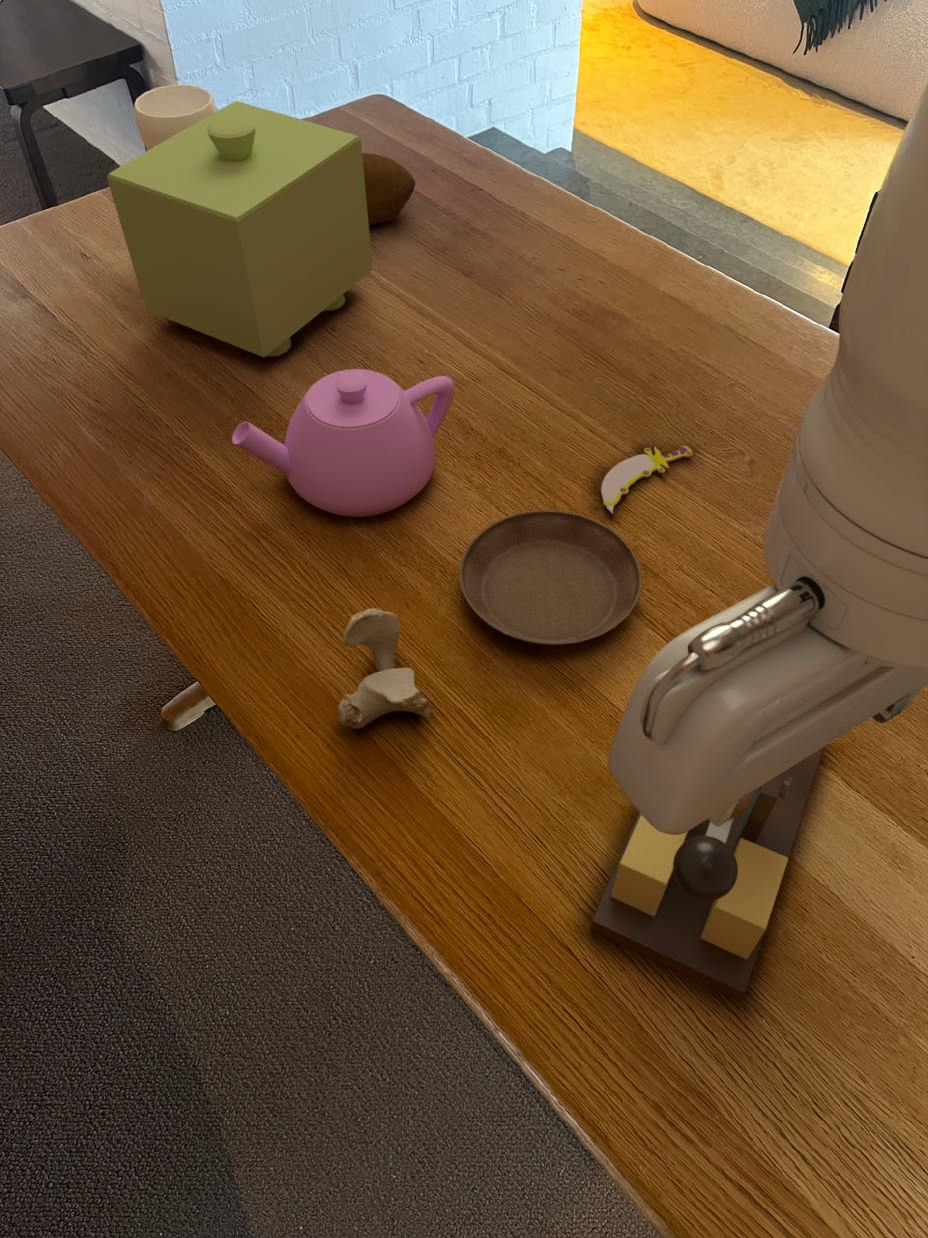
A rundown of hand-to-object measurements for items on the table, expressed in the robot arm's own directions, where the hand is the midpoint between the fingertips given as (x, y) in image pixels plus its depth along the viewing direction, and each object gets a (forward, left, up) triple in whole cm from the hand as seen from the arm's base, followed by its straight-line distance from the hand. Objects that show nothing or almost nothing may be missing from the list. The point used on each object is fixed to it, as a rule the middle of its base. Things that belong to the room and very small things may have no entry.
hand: (800, 754), depth 41 cm
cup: (+81, -57, -25) cm, 102 cm away
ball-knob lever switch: (+2, -3, -14) cm, 14 cm away
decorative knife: (+19, -41, -25) cm, 51 cm away
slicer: (+2, -9, -25) cm, 26 cm away
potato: (+66, -70, -25) cm, 99 cm away
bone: (+27, -8, -25) cm, 37 cm away
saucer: (+21, -24, -25) cm, 40 cm away
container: (+66, -48, -25) cm, 85 cm away
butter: (+2, -3, -23) cm, 24 cm away
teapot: (+43, -29, -25) cm, 57 cm away
